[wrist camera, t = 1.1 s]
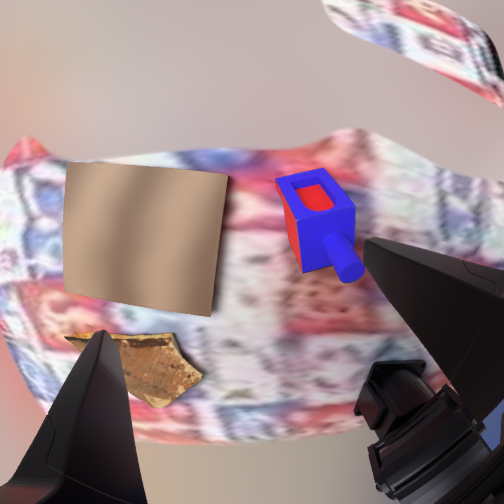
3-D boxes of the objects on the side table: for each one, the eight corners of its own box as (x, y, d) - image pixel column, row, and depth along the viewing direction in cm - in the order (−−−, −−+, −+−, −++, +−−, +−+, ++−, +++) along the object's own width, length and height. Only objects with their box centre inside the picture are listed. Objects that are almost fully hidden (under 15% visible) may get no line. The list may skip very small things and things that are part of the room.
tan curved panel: (228, 175, 20) (228, 174, 19) (211, 310, 22) (210, 317, 21) (75, 162, 19) (67, 162, 18) (71, 286, 21) (64, 291, 20)
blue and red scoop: (283, 226, 23) (315, 306, 17) (274, 178, 20) (312, 253, 14) (326, 215, 23) (371, 289, 17) (323, 167, 20) (378, 234, 14)
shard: (70, 329, 23) (62, 338, 21) (112, 273, 22) (104, 280, 20) (160, 403, 25) (156, 415, 23) (212, 360, 24) (211, 372, 22)
